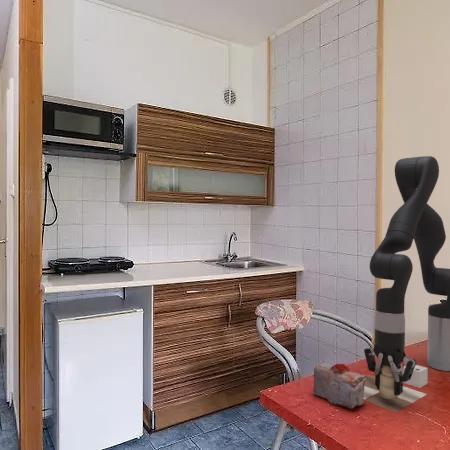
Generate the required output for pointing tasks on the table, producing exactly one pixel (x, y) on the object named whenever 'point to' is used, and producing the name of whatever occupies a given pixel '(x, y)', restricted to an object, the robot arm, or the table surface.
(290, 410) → the table surface
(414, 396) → the game mat
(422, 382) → the die
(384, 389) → the pawn
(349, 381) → the food item
